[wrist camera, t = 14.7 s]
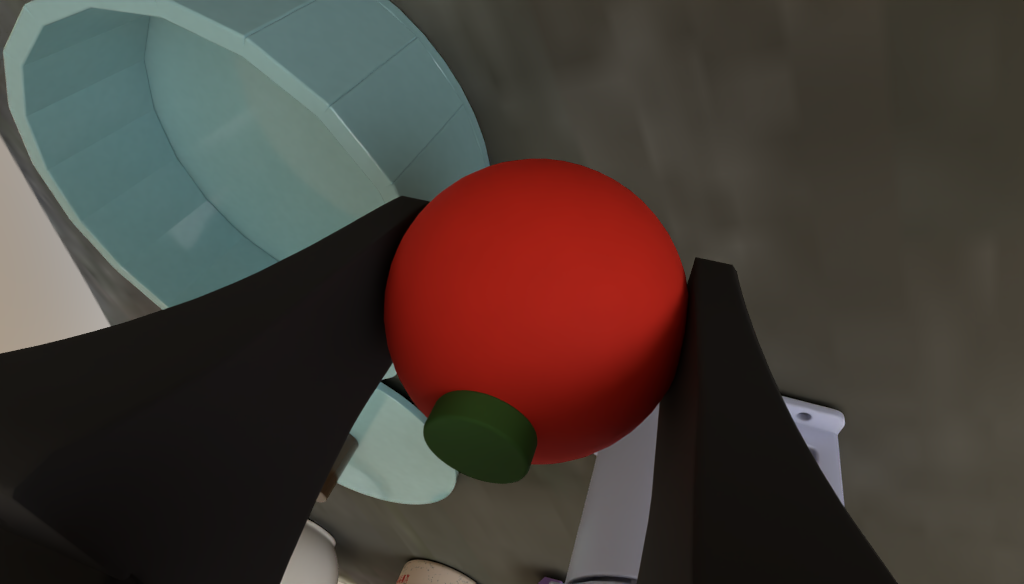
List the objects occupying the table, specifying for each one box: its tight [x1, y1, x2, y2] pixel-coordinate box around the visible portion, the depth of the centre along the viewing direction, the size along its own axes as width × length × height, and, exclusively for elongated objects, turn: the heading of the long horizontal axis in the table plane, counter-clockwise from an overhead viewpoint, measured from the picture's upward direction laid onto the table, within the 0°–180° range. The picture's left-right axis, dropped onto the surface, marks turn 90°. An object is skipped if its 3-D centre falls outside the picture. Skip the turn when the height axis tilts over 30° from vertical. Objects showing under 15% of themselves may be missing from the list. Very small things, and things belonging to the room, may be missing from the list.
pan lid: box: [316, 382, 458, 504], centre depth 36 cm, size 16×16×5 cm
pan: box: [3, 0, 490, 380], centre depth 21 cm, size 15×15×6 cm
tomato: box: [384, 159, 688, 484], centre depth 10 cm, size 5×5×6 cm
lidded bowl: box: [280, 520, 339, 584], centre depth 54 cm, size 13×13×11 cm
